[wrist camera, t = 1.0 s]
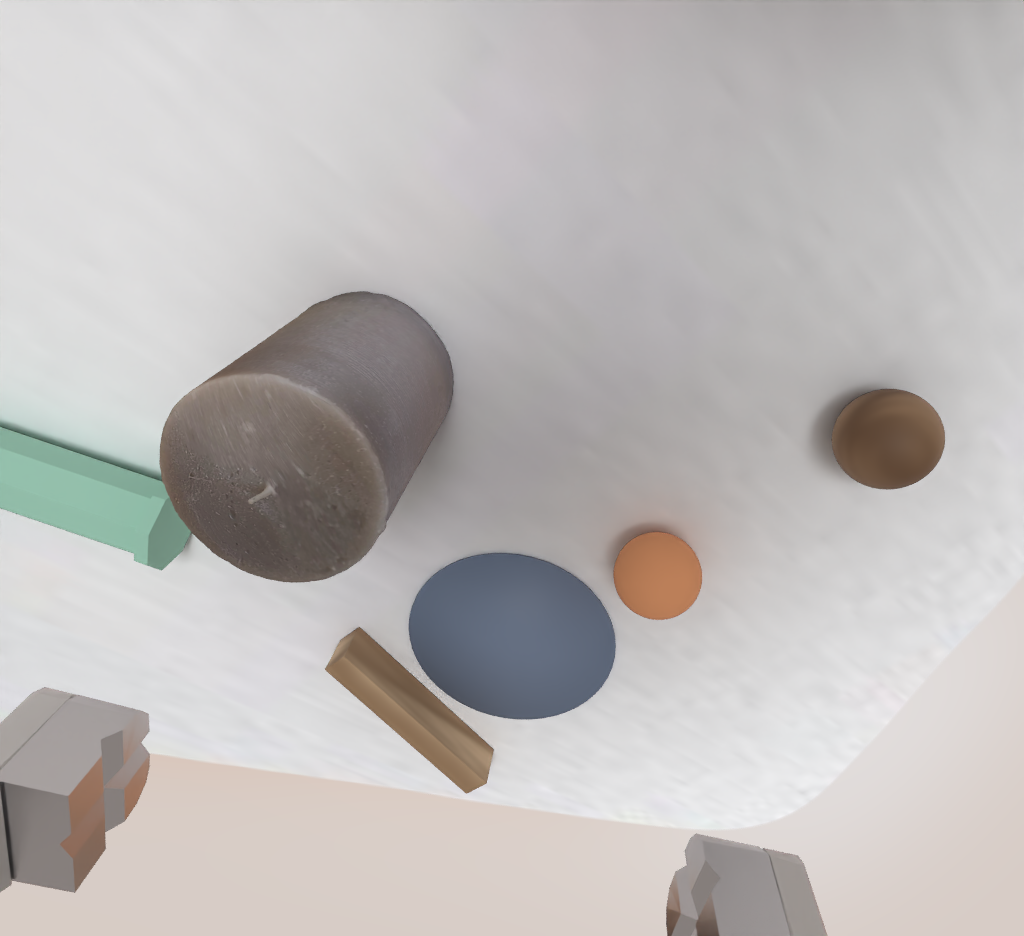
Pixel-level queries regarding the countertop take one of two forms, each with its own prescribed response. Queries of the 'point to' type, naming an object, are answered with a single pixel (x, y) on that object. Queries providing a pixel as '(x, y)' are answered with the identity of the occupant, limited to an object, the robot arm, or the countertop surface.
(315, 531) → the pillar candle
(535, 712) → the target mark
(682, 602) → the ball
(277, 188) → the countertop surface
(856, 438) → the ball
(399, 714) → the rail
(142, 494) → the container
